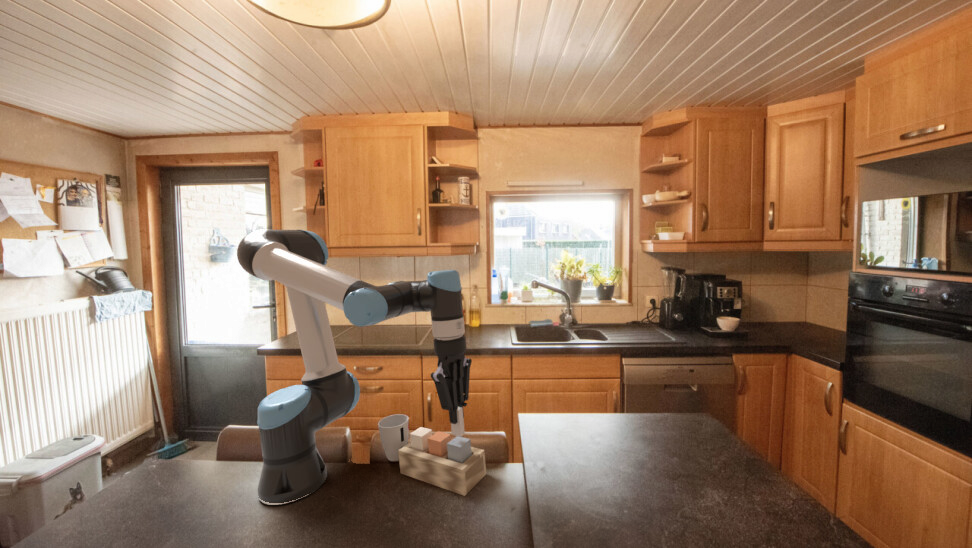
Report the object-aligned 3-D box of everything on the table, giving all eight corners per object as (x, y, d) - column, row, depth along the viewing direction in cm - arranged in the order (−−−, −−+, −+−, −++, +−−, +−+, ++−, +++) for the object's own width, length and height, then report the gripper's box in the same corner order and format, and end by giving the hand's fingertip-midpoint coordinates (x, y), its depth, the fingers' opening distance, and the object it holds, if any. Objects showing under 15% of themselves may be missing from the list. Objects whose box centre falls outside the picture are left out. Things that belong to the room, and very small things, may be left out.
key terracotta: (429, 462, 91) (427, 438, 91) (440, 454, 95) (438, 431, 94) (442, 466, 89) (440, 441, 89) (452, 457, 92) (450, 434, 92)
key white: (412, 456, 95) (409, 433, 94) (422, 448, 98) (420, 426, 98) (423, 460, 92) (421, 436, 92) (434, 452, 96) (432, 429, 95)
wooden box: (400, 473, 94) (398, 450, 93) (424, 455, 101) (422, 433, 101) (464, 495, 83) (462, 469, 83) (486, 473, 90) (484, 450, 90)
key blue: (449, 468, 88) (446, 443, 88) (459, 459, 91) (457, 435, 91) (462, 472, 86) (460, 447, 86) (472, 463, 89) (470, 439, 89)
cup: (404, 465, 97) (400, 427, 97) (376, 463, 99) (372, 427, 98) (416, 448, 105) (413, 414, 105) (390, 447, 107) (386, 414, 106)
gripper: (444, 344, 79) (454, 451, 81) (478, 330, 90) (486, 425, 92) (418, 342, 83) (428, 444, 85) (453, 329, 94) (461, 420, 96)
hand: (458, 434), depth 88 cm, fingers closed
